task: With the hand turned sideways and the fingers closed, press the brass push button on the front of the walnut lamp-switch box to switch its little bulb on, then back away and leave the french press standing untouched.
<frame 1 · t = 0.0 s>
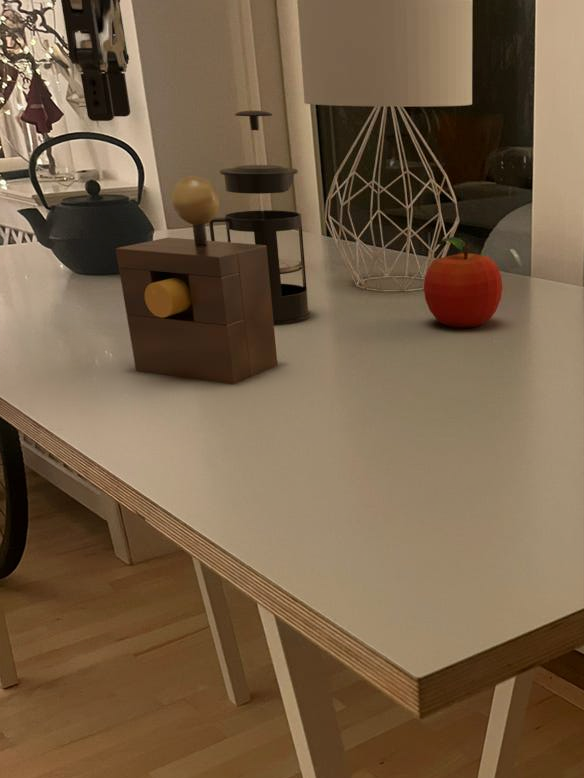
hand: (110, 118, 93), 23 cm above the table, tool pointing down, fingers open, 8 cm apart
switch box: (207, 369, 103), on the table
french press: (268, 319, 124), on the table
table lamp: (394, 285, 144), on the table
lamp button: (168, 297, 95), point 8 cm above the table, slide at 0.1 cm
fruit: (463, 326, 122), on the table
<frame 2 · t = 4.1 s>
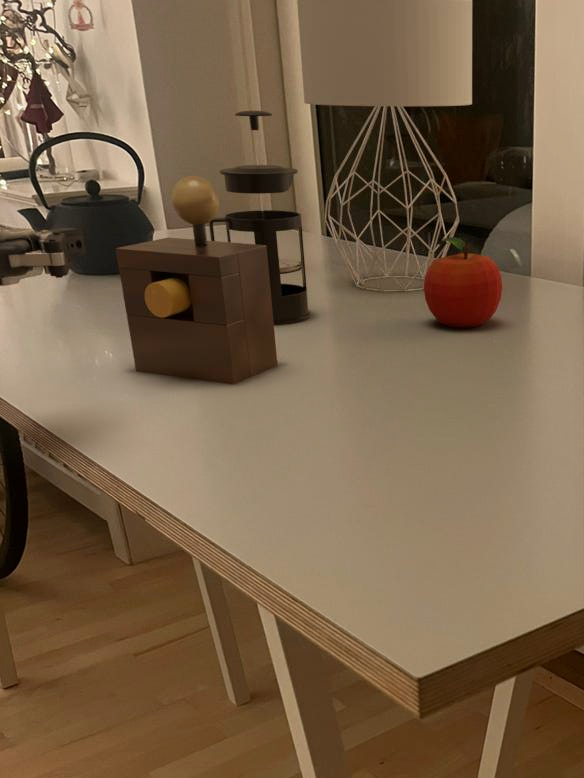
hand: (76, 241, 83), 14 cm above the table, tool horizontal, fingers closed
nothing on the table moved.
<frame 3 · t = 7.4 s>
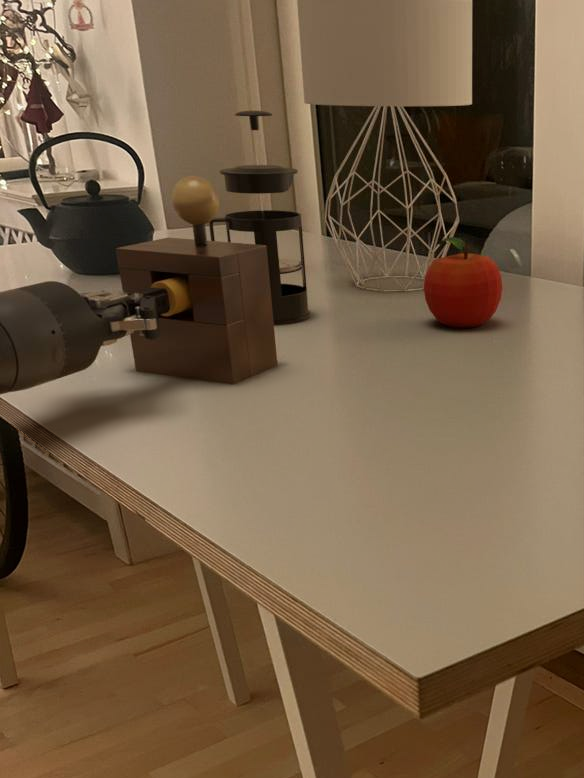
hand: (162, 299, 95), 8 cm above the table, tool horizontal, fingers closed
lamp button: (172, 296, 96), point 8 cm above the table, slide at -0.5 cm, touching gripper
everything else where it was.
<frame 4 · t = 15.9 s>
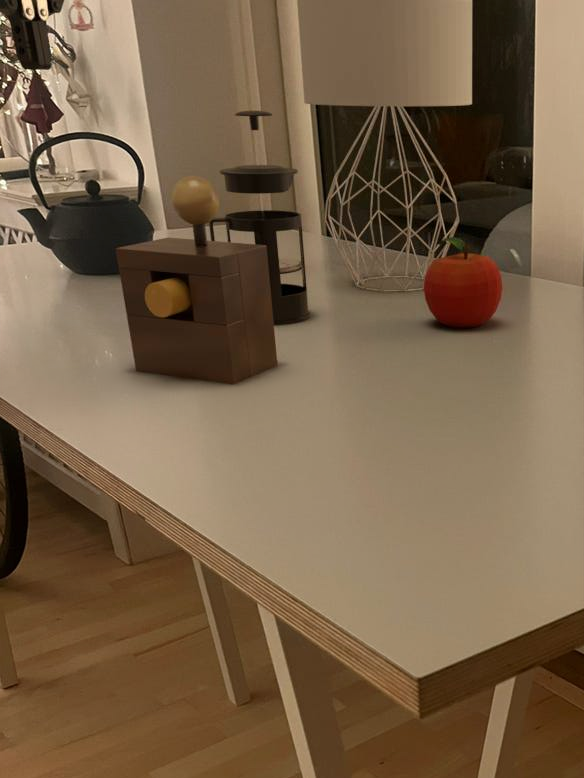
hand: (36, 69, 90), 27 cm above the table, tool pointing down, fingers closed
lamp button: (168, 297, 95), point 8 cm above the table, slide at 0.1 cm
everything else where it was.
at the end: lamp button pushed in 1.0 cm at the most during the clip, back to where it started at the end; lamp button slide at 0.1 cm; french press moved 0.2 cm from its start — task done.
